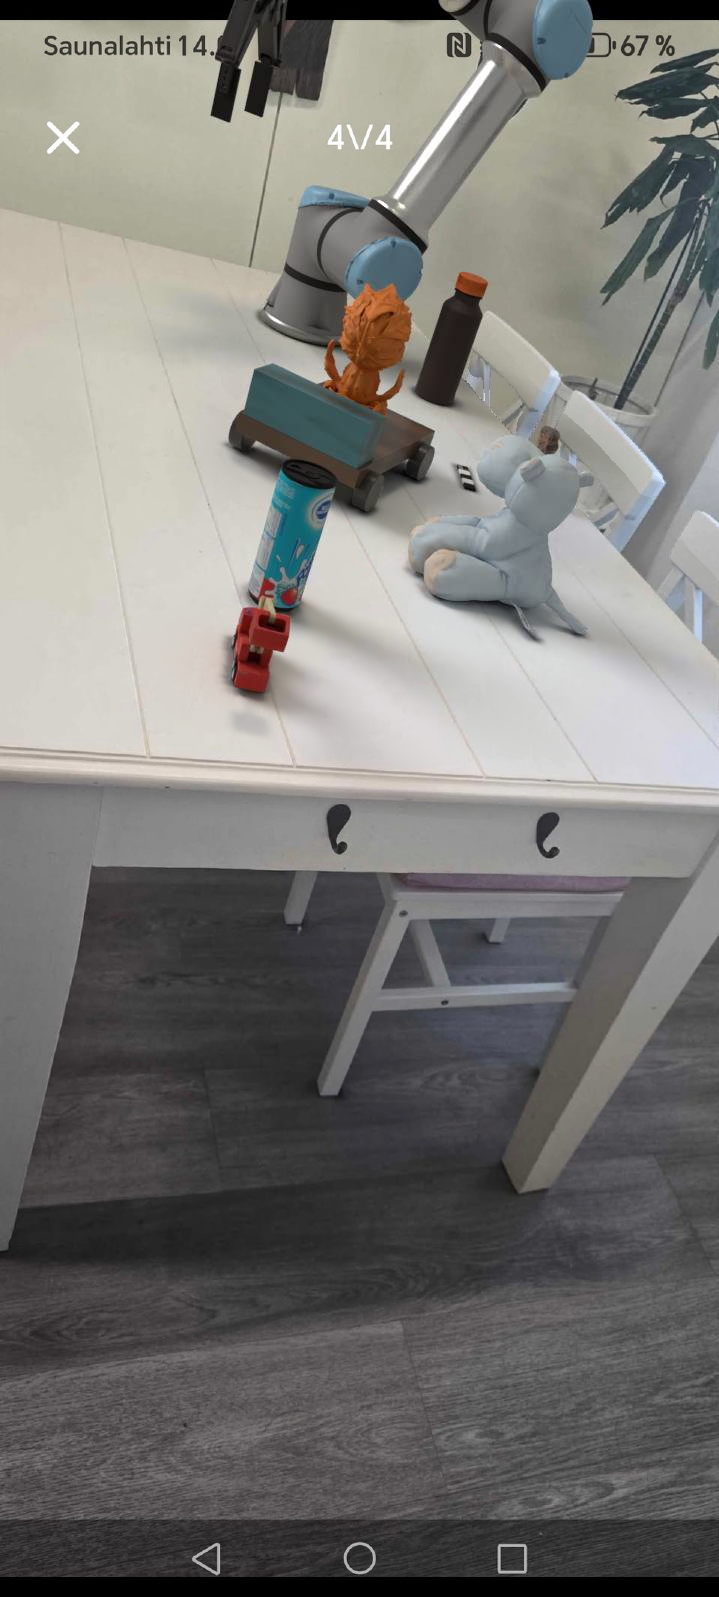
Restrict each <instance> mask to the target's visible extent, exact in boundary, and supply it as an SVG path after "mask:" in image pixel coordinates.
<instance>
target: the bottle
mask: <svg viewBox="0 0 719 1597" xmlns="http://www.w3.org/2000/svg"><path fill="white" fill-rule="evenodd" d="M488 286H489V282H488V280H487V279H485V278H483V277H482V276H480V275H477V274H474V273H471V272H467V271H460V272H459V273H458V276H457V279H456V282H455V284H454V294H453V295H451V296H450V297H449V298H447V299H445V301H444V302H443V303H442V305H441V309H440V312H439V315H438V318H437V321H436V324H435V326H434V329H433V333H432V336H431V339H430V342H429V345H428V348H427V351H426V353H425V356H424V361H423V363H422V366H421V370H420V372H419V375H418V378H417V382H416V385H415V388H414V390H415V393H416V394H417V395H418V396H419V397H420V398H422V399H423V400H426V401H428V402H431V403H433V404H437V405H441V406H449V405H452V404H453V402H454V401H455V398H456V394H457V391H458V390H459V386H460V383H461V380H462V378H463V376H464V371H465V369H466V366H467V363H468V360H469V357H470V354H471V351H472V349H473V345H474V344H475V340H476V337H477V334H478V332H479V328H480V326H481V323H482V320H483V318H484V315H483V311H482V309H481V307H480V302H481V301H482V300H483V297H484V296H485V294H486V291H487V288H488Z"/></svg>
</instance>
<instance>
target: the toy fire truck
mask: <svg viewBox="0 0 719 1597" xmlns="http://www.w3.org/2000/svg"><path fill="white" fill-rule="evenodd" d="M274 601H275V599H274V598H268V597H265V596H262V597H261V598H260V600H259V604H258V603H257V607H255V606H246V607H243V608H242V609H241V611H240V614H239V617H238V618H239V619H238V622H237V625H236V628H235V631H234V632H235V633H234V634H233V637H232V641H231V648H232V649H233V660H232V666H231V678H230V679H231V681H232V682H233V687H234V688H236V689H237V688H238V689H244V690H248V691H253V692H259V693H265V692H266V691H267V686H268V683H269V680H270V663H271V661H272V660H271V659H272V656H273V653H274V652H280V653H285V650H286V647H287V646H288V642H289V638H290V632H291V616H289V615H286V614H283V613H278V612H277V611H275V609H274ZM276 612H277V613H276Z"/></svg>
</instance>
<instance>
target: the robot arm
mask: <svg viewBox="0 0 719 1597" xmlns="http://www.w3.org/2000/svg"><path fill="white" fill-rule="evenodd" d="M438 3H439V5H440V7H441V8H442V9H443V10H444V11H446V12H447V13H448V14H449V15H451V16H452V17H453V18H454V19H455V20H456V21H458V22H459V24H461V25H462V26H464V27H465V29H466V30H468V31H469V32H470V33H471V34H472V35H473V36H474V37H475V38H477V39H478V40H479V41H480V42H481V43H482V44H481V49H482V50H481V51H482V59H481V60H482V61H481V62H480V64H478V66H477V67H476V69H475V71H474V72H473V73H472V74H471V75H470V77H469V79H468V81H466V83H465V85H464V86H463V88H461V90H460V92H459V93H458V95H457V96H456V97H455V99H454V100H453V101H452V103H451V104H450V105H449V107H448V109H447V110H446V111H445V112H444V114H443V115H442V117H441V118H440V120H439V121H438V122H437V124H435V127H434V128H433V129H432V130H431V132H430V133H429V135H428V136H427V138H425V140H424V142H423V143H422V145H421V146H420V148H419V149H418V150H417V151H416V153H415V155H414V156H413V157H412V159H411V160H410V162H409V163H408V164H407V165H406V167H405V168H404V170H403V171H402V173H401V174H400V175H399V177H398V178H397V179H396V181H395V182H394V184H393V185H392V186H391V188H390V189H389V191H388V192H387V193H386V194H384V195H378V196H372V198H371V199H369V198H367V197H365V196H362V195H359V194H355V193H352V192H348V191H345V190H341V189H336V188H332V187H327V186H322V185H309V186H307V187H306V188H305V189H304V191H303V193H302V196H301V199H300V202H299V204H298V206H297V213H296V217H295V222H294V226H293V231H292V233H291V238H290V242H289V246H288V250H287V254H286V259H285V263H284V266H283V270H282V273H281V276H280V277H279V279H278V280H277V282H276V284H275V285H274V287H273V289H272V290H271V292H270V294H269V295H268V296H267V297H266V298H265V299H264V301H263V303H262V304H261V306H262V310H261V319H262V320H263V321H264V323H266V324H267V325H268V326H269V327H271V328H273V329H274V330H276V331H278V332H280V333H281V334H284V335H286V336H289V337H291V338H293V339H296V340H300V341H303V342H307V343H310V344H314V345H320V346H327V347H328V345H329V342H330V341H331V340H332V339H334V347H335V346H341V344H340V343H339V342H338V341H339V340H340V339H341V337H342V332H343V331H344V327H343V319H344V317H345V315H346V314H345V312H346V309H345V306H348V294H349V295H350V296H351V297H352V298H353V300H354V301H355V300H356V298H358V296H359V295H360V294H361V292H362V291H363V290H364V286H365V285H366V284H367V283H368V284H369V285H370V286H371V288H372V289H373V290H374V291H376V292H377V291H379V290H380V289H385V288H386V287H387V286H389V285H391V284H394V286H395V288H396V289H395V290H396V293H397V295H398V296H399V297H400V298H401V300H402V301H403V300H404V302H405V301H407V300H409V298H410V297H411V296H412V295H413V294H414V292H415V291H416V290H417V288H418V286H419V284H420V283H421V280H422V277H423V273H422V270H424V260H423V256H424V254H425V253H426V251H427V250H428V248H429V247H430V241H429V231H430V229H431V228H432V227H433V226H434V224H436V221H437V220H438V218H439V217H440V216H441V214H443V212H444V210H445V209H446V207H447V206H448V205H449V203H450V202H451V201H452V199H453V198H454V197H455V195H456V194H457V192H459V190H460V189H461V187H462V186H463V184H464V183H465V181H466V180H467V179H468V177H469V176H470V175H471V173H472V172H473V171H474V169H475V168H476V167H477V166H478V164H479V163H480V161H481V160H482V159H483V157H484V156H485V154H486V153H487V152H488V150H489V149H490V148H491V146H492V145H493V143H494V142H495V141H496V139H497V138H498V136H499V135H500V134H501V132H502V131H503V129H504V128H505V127H506V126H507V124H508V123H509V121H510V120H511V119H512V118H513V116H514V115H515V113H516V112H517V111H518V109H519V107H520V106H521V105H522V104H523V102H524V101H525V100H530V99H535V98H537V99H538V98H539V97H540V96H541V95H542V93H543V92H544V91H545V89H546V88H547V87H548V85H549V84H550V82H551V81H561V80H563V79H568V78H570V77H571V76H573V75H574V74H575V73H576V72H577V71H579V69H580V68H581V67H582V65H583V64H584V62H585V60H586V59H587V56H588V54H589V51H590V48H591V44H592V40H593V33H592V31H593V30H592V29H593V27H594V21H593V20H594V18H593V13H592V8H591V6H590V4H589V1H588V0H438ZM232 4H233V5H232V6H231V10H230V13H229V15H228V18H227V20H226V23H225V27H224V30H223V33H222V35H221V38H220V41H219V44H218V46H217V49H216V51H215V53H214V60H215V61H216V62H219V63H220V66H219V71H218V74H217V75H218V76H217V80H216V86H215V90H214V96H213V101H212V105H211V110H210V116H211V117H213V118H216V119H217V120H221V121H224V122H225V123H229V124H230V123H231V122H232V116H233V112H234V108H235V107H234V106H235V103H236V98H237V94H238V88H239V84H240V78H241V75H242V69H241V68H240V66H241V63H242V61H243V60H244V57H245V55H246V53H247V50H248V48H249V46H250V44H251V42H252V40H253V38H254V36H255V33H256V32H257V56H258V59H257V60H254V64H253V68H252V73H251V77H250V82H249V87H248V91H247V95H246V99H245V105H244V110H243V111H244V112H246V113H248V114H251V115H254V116H256V117H258V118H264V113H265V109H266V105H267V101H268V97H269V91H270V87H271V83H272V80H273V79H272V78H273V74H274V69H275V68H277V69H280V68H282V64H283V60H282V59H283V49H284V39H285V38H284V37H285V27H286V17H287V6H288V0H234V2H233V3H232Z"/></svg>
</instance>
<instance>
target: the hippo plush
mask: <svg viewBox="0 0 719 1597" xmlns="http://www.w3.org/2000/svg"><path fill="white" fill-rule="evenodd" d="M476 473H477V477H478V480H479V482H480V483H481V484H482V485H484V486H485V488H486V489H487V490H488V491H489V492H490V493H492V494H493V495H494V496H496V497H498V498H501V499H504V503H505V505H506V506H505V507H504V508H502V509H501V510H500V511H499V513H497V515H488V516H486V517H482V518H478V517H476V516H473V515H468V514H458V515H457V514H455V515H445V516H442V515H439V514H438V515H437V516H433V517H431V518H429V519H426V521H425V522H424V523H423V524H419V525H416V526H415V527H414V528H413V529H412V530H411V533H410V537H409V542H408V547H407V557H408V561H409V564H410V565H411V567H412V568H413V570H414V571H416V572H417V573H419V574H421V575H423V582H424V584H425V587H426V589H427V590H428V591H429V593H430V594H431V595H433V596H436V597H437V598H441V599H443V600H446V601H449V602H450V601H451V602H470V601H480V602H487V601H489V602H490V601H491V602H493V601H498V602H500V603H502V604H505V605H509V606H512V607H514V608H516V611H517V614H518V616H519V618H520V621H521V622H522V625H523V627H524V628H525V629H526V630H527V631H528V632H529V634H531V635H532V636H533V637H534V639H536V640H537V639H539V638H538V636H537V634H536V632H535V631H534V629H532V628H531V626H530V623H529V622H528V620H527V618H526V616H525V615H524V612H523V610H522V608H535V607H539V606H540V605H543V604H545V605H547V607H549V608H550V609H551V611H553V612H554V613H555V614H556V615H557V616H558V617H559V618H560V619H561V621H563V622H564V623H565V624H567V626H568V627H569V628H571V629H572V630H573V631H574V632H575V633H576V634H578V635H585V634H586V633H587V631H588V630H589V628H588V627H587V626H586V625H585V624H584V623H582V622H581V621H580V620H579V619H578V618H577V617H576V616H575V615H574V614H572V612H570V611H569V610H568V609H567V608H566V607H565V604H564V603H563V602H562V600H561V598H560V597H559V596H560V595H559V594H558V592H557V591H556V589H554V587H553V586H552V582H553V563H552V562H553V561H552V555H551V552H550V548H549V534H550V533H552V532H553V531H555V529H558V527H559V526H560V525H562V523H563V522H564V521H565V520H566V519H567V518H568V517H569V515H570V514H571V513H572V512H573V510H574V509H575V507H576V504H577V503H578V500H579V495H580V492H581V488H587V487H592V486H593V485H594V483H595V476H594V474H593V473H592V472H590V471H588V470H585V471H581V472H578V469H577V468H576V466H575V465H574V464H572V463H571V462H570V461H568V460H566V459H564V458H563V457H561V456H559V455H555V454H547V455H545V454H544V453H543V452H542V451H541V450H540V449H539V448H537V445H535V444H534V443H533V442H531V441H530V440H528V439H526V438H525V437H522V436H519V435H516V434H506V435H504V436H501V437H500V438H497V439H495V440H493V441H492V442H491V443H490V444H489V445H487V447H486V448H485V450H484V452H483V453H482V456H481V457H480V459H479V461H478V463H477V465H476Z"/></svg>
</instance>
